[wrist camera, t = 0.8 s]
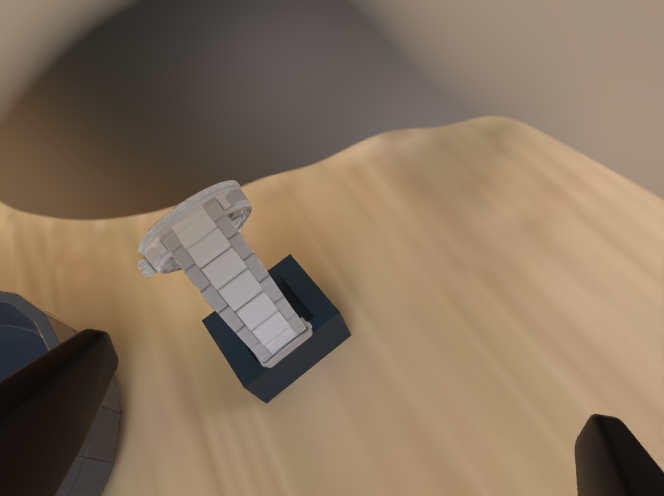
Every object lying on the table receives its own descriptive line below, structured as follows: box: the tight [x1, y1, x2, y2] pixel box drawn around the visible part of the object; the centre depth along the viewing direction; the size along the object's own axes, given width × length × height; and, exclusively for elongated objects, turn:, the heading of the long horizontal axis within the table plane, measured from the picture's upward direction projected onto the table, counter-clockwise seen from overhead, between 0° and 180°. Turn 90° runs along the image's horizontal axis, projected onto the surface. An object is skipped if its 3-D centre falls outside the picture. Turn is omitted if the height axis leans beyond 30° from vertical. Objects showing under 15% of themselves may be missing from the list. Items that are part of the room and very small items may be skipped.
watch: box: [137, 180, 351, 403], centre depth 22 cm, size 6×8×11 cm
